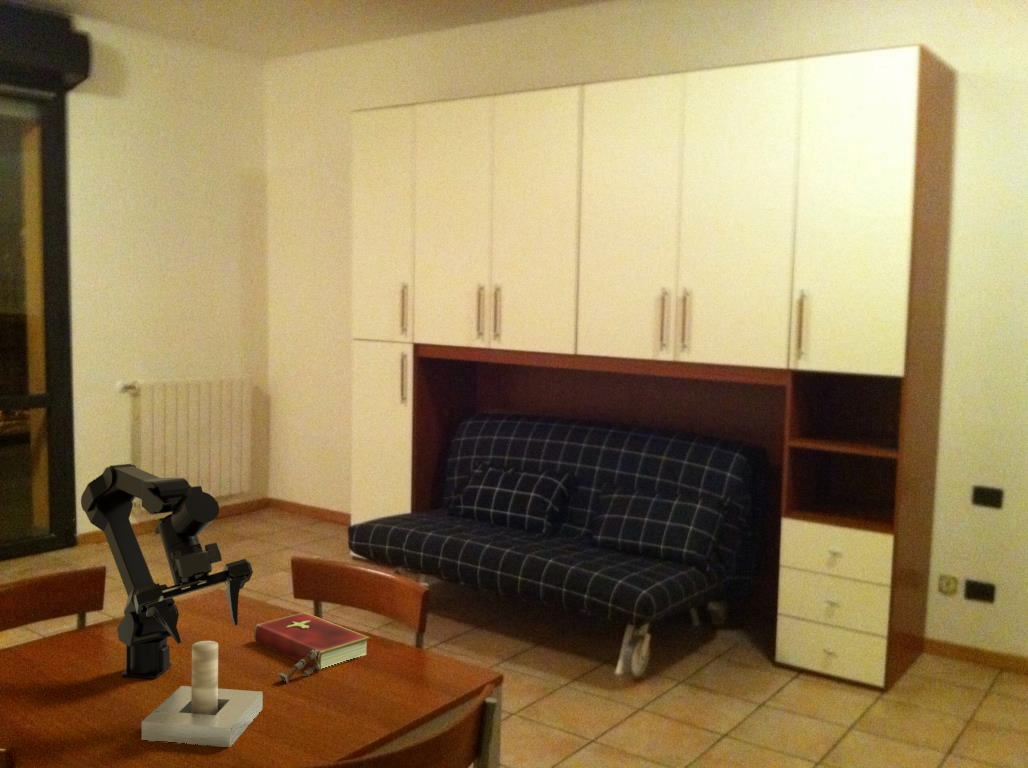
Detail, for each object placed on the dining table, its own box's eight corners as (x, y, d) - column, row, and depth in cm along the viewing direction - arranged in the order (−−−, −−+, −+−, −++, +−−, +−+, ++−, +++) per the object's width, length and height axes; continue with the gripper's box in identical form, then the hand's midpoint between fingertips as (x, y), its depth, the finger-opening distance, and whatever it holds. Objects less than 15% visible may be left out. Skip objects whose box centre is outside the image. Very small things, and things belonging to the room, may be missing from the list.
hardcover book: (318, 673, 176) (319, 651, 176) (254, 644, 190) (254, 623, 190) (369, 656, 185) (369, 635, 185) (303, 630, 199) (304, 610, 199)
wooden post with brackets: (326, 667, 176) (318, 648, 174) (292, 695, 171) (283, 675, 169) (320, 664, 177) (312, 645, 176) (286, 692, 172) (278, 672, 171)
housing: (141, 740, 146) (141, 721, 146) (181, 703, 160) (181, 685, 160) (229, 747, 145) (230, 728, 145) (262, 709, 159) (262, 691, 159)
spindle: (185, 725, 152) (186, 646, 151) (205, 716, 155) (206, 638, 154) (203, 731, 150) (204, 651, 149) (222, 722, 153) (223, 644, 152)
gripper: (126, 546, 151) (152, 640, 146) (243, 516, 160) (271, 603, 155) (124, 568, 160) (148, 657, 155) (235, 538, 169) (261, 621, 164)
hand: (208, 634), depth 157 cm, fingers open, 9 cm apart
